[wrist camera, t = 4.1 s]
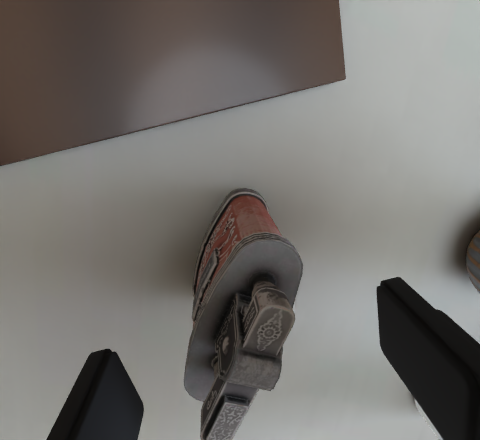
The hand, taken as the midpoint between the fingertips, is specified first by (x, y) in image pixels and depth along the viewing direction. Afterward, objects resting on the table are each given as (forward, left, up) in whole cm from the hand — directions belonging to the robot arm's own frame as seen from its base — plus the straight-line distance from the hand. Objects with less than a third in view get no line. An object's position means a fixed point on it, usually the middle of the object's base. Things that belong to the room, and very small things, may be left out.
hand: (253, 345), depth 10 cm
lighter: (0, 0, -9) cm, 9 cm away
